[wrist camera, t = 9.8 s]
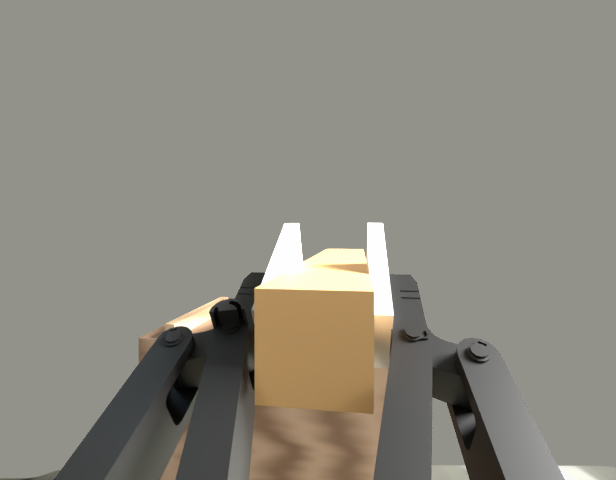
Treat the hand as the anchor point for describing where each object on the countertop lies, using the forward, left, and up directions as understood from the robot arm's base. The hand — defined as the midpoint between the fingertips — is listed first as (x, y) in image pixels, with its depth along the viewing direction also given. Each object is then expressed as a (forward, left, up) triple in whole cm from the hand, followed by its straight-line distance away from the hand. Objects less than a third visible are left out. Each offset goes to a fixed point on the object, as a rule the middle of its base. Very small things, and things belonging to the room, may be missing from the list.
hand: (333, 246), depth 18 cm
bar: (0, +4, -4) cm, 6 cm away
